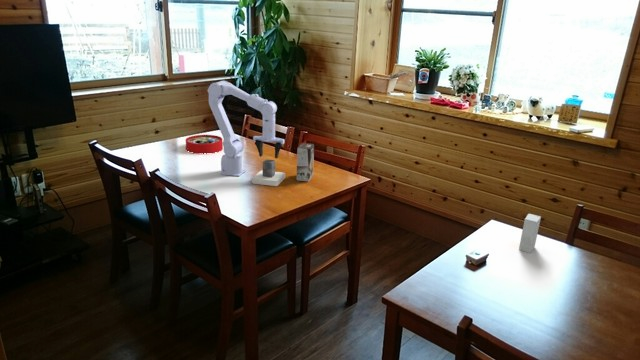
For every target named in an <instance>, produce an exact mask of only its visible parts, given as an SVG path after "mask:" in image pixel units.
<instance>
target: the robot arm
mask: <svg viewBox="0 0 640 360" xmlns="http://www.w3.org/2000/svg"><path fill="white" fill-rule="evenodd" d="M207 93H208V105H209V107H210V110H211V111H212V115H213V117H214V119H215V122H216V123H217V126H218V129H219V130H220V134H221V135H222V142H223V154H222V156H221V160H220V168H221V170H220V172H221V173H220V174H221V175H225V176H232V177H240V176H241V175H242V174H244V173H245V172H246V170H244V169H243V161H242V160H243V157H242V156H243V155H242V152H243V150H244V148H245V147H244V143H243V141H242V140H240V137H239V136H237V135H236V134H235V132H234V130H233V127H232V125H231V123H230V120H229V118H228V116H227V114H226V113H227V112H226V111H225V108H224V106H223V104H222V103H223V100H224V98H225V96H229V95H232V96H233V97H236V98H238V99H240V100H242V101H245V102H246V103H247V106H248V107H251V108H253V109H254V110H256V111H259V112H260V113H261V115H262V135H254V136H253V137H252V139H253V142H254V145H255V146H256V148H257V152H258V155H259V157H263V154H264V149H263V148H264V147H263V146H264V143H274V145H273V146H274V159H276V160H277V159H278V157H279V153H280V151H281V149H282V146H283V145H284V144H285V139H284V138H280V137H276V112H277V110H278V106H277V104H276V103H275V102H274V101H272V100H269V101H268V99H264V98H263V97H260V96H259V94H258V93H256V94H254V93H252V94H249V93H247V92H246V91H244V90H242V89H241V88H238V87H237V86H235V85H234V84H232V83H231V82H229V81H227V80H220V81H217V82H212V83H211V84H210V85H209V86H208V88H207Z"/></svg>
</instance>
